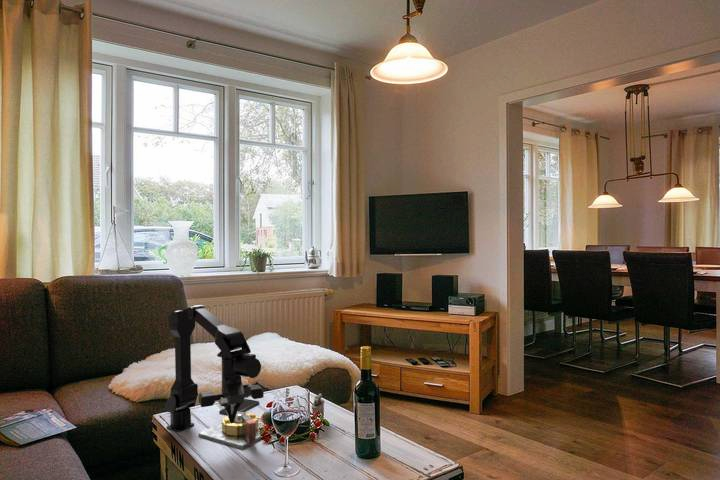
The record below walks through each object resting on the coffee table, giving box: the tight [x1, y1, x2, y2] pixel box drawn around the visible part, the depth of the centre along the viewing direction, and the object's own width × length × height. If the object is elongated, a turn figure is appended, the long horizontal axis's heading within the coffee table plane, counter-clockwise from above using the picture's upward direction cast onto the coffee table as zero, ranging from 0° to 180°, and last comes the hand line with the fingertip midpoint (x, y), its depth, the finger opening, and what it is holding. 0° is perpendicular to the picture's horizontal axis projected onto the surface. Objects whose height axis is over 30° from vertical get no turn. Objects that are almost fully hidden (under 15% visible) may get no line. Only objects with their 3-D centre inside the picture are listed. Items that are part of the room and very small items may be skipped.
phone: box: [218, 398, 260, 416], centre depth 182 cm, size 8×1×15 cm
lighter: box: [311, 393, 325, 420], centre depth 166 cm, size 8×3×10 cm, turn 168°
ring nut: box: [221, 412, 259, 445], centre depth 157 cm, size 18×11×6 cm, turn 30°
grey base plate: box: [198, 411, 262, 450], centre depth 160 cm, size 19×18×6 cm
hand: (231, 423), depth 149 cm, fingers closed
